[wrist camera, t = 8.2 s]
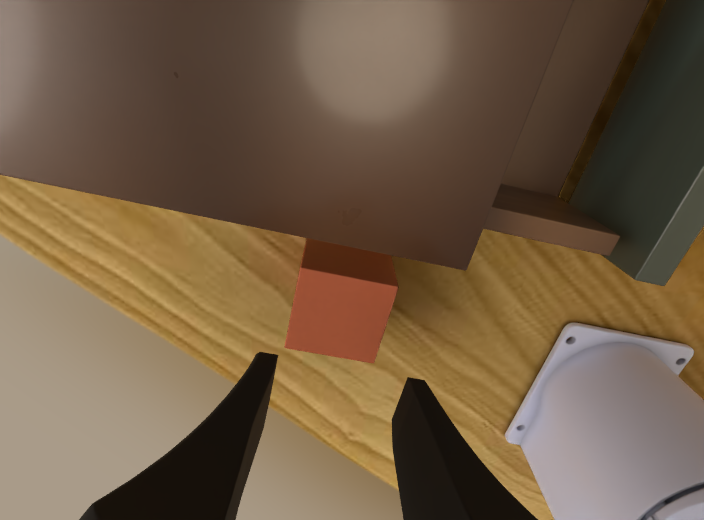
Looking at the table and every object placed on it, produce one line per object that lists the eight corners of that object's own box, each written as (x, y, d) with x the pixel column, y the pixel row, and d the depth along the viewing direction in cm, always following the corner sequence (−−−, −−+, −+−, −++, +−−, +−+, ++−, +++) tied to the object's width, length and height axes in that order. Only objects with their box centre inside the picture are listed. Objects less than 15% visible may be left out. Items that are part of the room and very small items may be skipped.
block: (369, 313, 22) (374, 364, 19) (294, 299, 22) (284, 348, 18) (389, 246, 21) (399, 287, 17) (308, 229, 20) (299, 267, 16)
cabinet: (530, -124, 14) (688, -285, 8) (425, 201, 20) (466, 271, 13) (112, -261, 13) (-139, -611, 6) (119, 133, 18) (-13, 172, 11)
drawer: (839, -13, 15) (1088, -52, 10) (674, 249, 20) (787, 312, 15) (368, -166, 13) (382, -310, 8) (307, 166, 18) (291, 207, 13)
